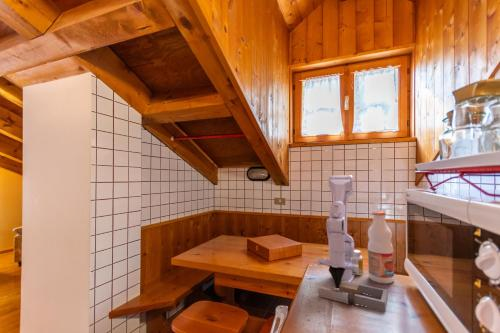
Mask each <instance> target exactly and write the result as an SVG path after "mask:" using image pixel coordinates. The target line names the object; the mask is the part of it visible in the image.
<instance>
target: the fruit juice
mask: <svg viewBox="0 0 500 333" xmlns="http://www.w3.org/2000/svg"><path fill="white" fill-rule="evenodd" d="M386 214H387V213H386V212H385V211H374V210H373V211H372V217H373V220H372V223H371V225H370V226H369V228H368V229H367V237H368V242H367V258H368V259H367V260H368V262H367V263H368V266H367V267H368V278H369V279H370V280H371V281H373V282H376V283H379V284H393V283H394V281H395V273H394V272H395V270H394V267H395V266H394V265H395V264H394V247H393V246H394V245H393V243H392V238H393V233H392V230H391V229H390V227H389V226H388V224H387V220H386Z"/></svg>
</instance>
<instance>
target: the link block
mask: <svg viewBox="0 0 500 333" xmlns="http://www.w3.org/2000/svg"><path fill="white" fill-rule="evenodd" d="M359 284H360V283H354V282H351V283H350V282H345V281H341V284H340V285H339V289H338V291H341V292H346V293H348V292H352V293H353V300H354V294H358V295H361V294H360V289H359Z"/></svg>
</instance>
